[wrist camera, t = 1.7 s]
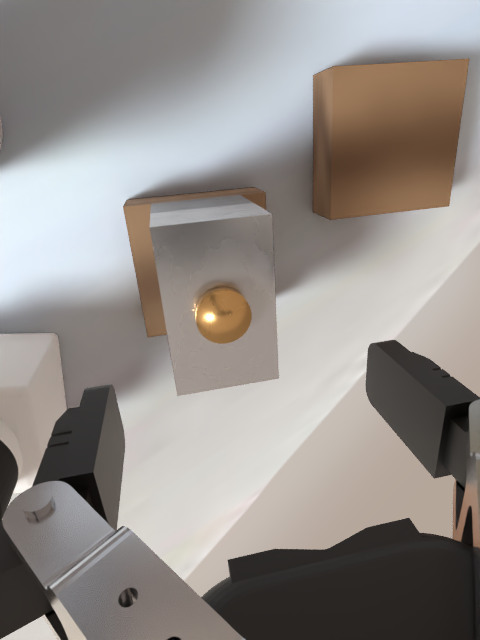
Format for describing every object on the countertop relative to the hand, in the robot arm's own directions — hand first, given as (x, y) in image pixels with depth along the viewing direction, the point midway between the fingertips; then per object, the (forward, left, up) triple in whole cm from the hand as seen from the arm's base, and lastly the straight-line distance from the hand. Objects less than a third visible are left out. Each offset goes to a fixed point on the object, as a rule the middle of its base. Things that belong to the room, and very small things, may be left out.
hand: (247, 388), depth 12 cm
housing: (0, 0, -13) cm, 13 cm away
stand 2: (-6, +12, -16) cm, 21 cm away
